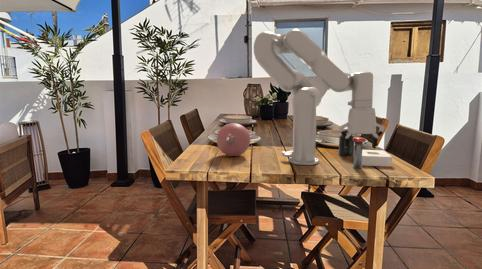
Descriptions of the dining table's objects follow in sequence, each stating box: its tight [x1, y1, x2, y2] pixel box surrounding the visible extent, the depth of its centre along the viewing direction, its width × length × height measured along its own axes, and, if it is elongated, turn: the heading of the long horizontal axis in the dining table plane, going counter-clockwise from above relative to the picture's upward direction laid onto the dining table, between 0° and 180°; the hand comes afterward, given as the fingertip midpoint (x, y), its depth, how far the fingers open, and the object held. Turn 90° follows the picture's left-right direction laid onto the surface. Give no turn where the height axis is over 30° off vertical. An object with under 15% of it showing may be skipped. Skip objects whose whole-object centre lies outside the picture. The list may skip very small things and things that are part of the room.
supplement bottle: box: [338, 128, 355, 157], centre depth 147 cm, size 7×7×12 cm
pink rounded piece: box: [216, 122, 251, 157], centre depth 143 cm, size 15×20×15 cm
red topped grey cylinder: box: [352, 136, 366, 170], centre depth 125 cm, size 5×5×12 cm
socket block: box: [361, 149, 393, 168], centre depth 134 cm, size 12×12×4 cm
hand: (360, 147), depth 125 cm, fingers open, 9 cm apart
